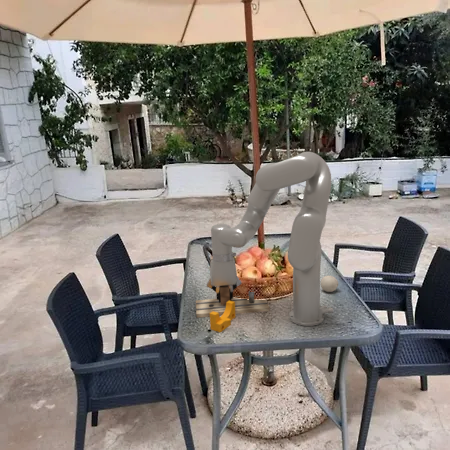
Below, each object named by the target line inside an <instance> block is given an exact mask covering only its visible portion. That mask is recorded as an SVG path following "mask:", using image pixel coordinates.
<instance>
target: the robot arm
mask: <svg viewBox="0 0 450 450" xmlns="http://www.w3.org/2000/svg"><path fill="white" fill-rule="evenodd" d="M328 165H329V164H328V163H327V162H326V160H324V159H323V158H322V156H320V155H319V154H317V153H315V152H312V151H305V152H300V153H299V154H297V155H295V156H293V157H290V158H286V159H285V160H281V161H278V162H270V163H267V164H265V165H263V166H261V167H259V169H258V171H257V172H256V175H255V183H254V186H253V188H252V189H251V191H250V192H249V195H248V196H247V199H246V200H247V207H246V211H244V214H243V216H242V217H241V220H240V222H239V223H238V224H237V225H235V226H233V227H231V226H230V225H229V224H227V223H218V224H213V226H212V227H211V229H210V233H211V234H210V235H211V252H212V258H211V260H210V263H209V264H210V265H209V266H210V267H209V270H210V271H209V277H210V278H209V279H208V281H207V283H206V287H207V288H209V289H211V290H212V291H213V292H215V293H216V299H217V300H219V303H220V302H221V296H220V288H219V287H220V286H224V285H229V293H230V301H231V299H233V297H234V293H233V292H234V291H235V290H236V289H237V287H238V286H240V285H242V280H241V279H240V278H239V277H238V275H237V266H236V261H235V260H236V259H235V258H234V257H236V256H237V253H236V252H234V251H233V248H237V249H240V248H243V247H245V246H246V245H247V244H248V243H249V242H250V241H251V240H252V239H253V238H254V237H255V236H256V234H257V232H258V231H259V228H260V226H261V225H262V224H263V221H264V220H265V217H266V216H267V214H268V212H269V210H270V207H272V204H273V202H274V200H275V199H276V196H277V195H278V193H279V191H280V190H281V189H282V190H283V189H285V188H288V187H291V186H295V185H299V184H302V183H304V182H305V185H304V186H305V187H304V191H303V197H302V203H301V207H300V210H299V212H298V213H297V215H296V216H295V217H294V219H293V222H292V227H291V232H290V236H289V243H288V249H287V260H288V262H289V265H290V266H291V267H292V268H293V269H292V301H293V302H292V303H293V304H292V305H293V306H292V308H293V309H292V310H291V311H290V312H289V313H288V317H289V320H290V321H291V322H292V323H294V324H296V325H297V326H304V327H313V326H316V325H317V326H318V325H320V324H322V323H323V322H324V320H325V315H326V314H333V313H334V308H333V307H328V305H321V263H322V244H321V237H322V232H323V230H324V227H325V225H326V218H327V213H328V212H327V211H328V208H329V202H330V195H331V189H332V173H331V170H330V167H329V166H328ZM239 279H240V280H239Z"/></svg>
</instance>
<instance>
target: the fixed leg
mask: <svg viewBox="0 0 450 450" xmlns="http://www.w3.org/2000/svg"><path fill="white" fill-rule="evenodd" d="M250 291H251V290H249V291H248V296H249V303H254V302H255V300H254V295H255V291H254V292H250Z"/></svg>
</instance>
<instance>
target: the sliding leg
mask: <svg viewBox="0 0 450 450" xmlns="http://www.w3.org/2000/svg"><path fill="white" fill-rule="evenodd" d="M229 288H230V287H229V285H224V286H220V287H219V291H220V296H221V305H224V304H226V302H228V301H229V300H230V293H229Z"/></svg>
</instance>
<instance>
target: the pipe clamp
mask: <svg viewBox="0 0 450 450" xmlns="http://www.w3.org/2000/svg"><path fill="white" fill-rule="evenodd" d="M236 315H237V314H235V302H233V301H230V300H229V301H228V302H226V308H225V311H224V313H223V315H222V316H219V313H218V312H214V311H212V312H211V313H210V317H209V324H210V325H209V326H210V330H212V331H215V332H218V333H220V334H221V333H222V332H223V331H225V330H227V328H229V327H230V326H231V325H232V321H233V320H234V319H235V318H236Z"/></svg>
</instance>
